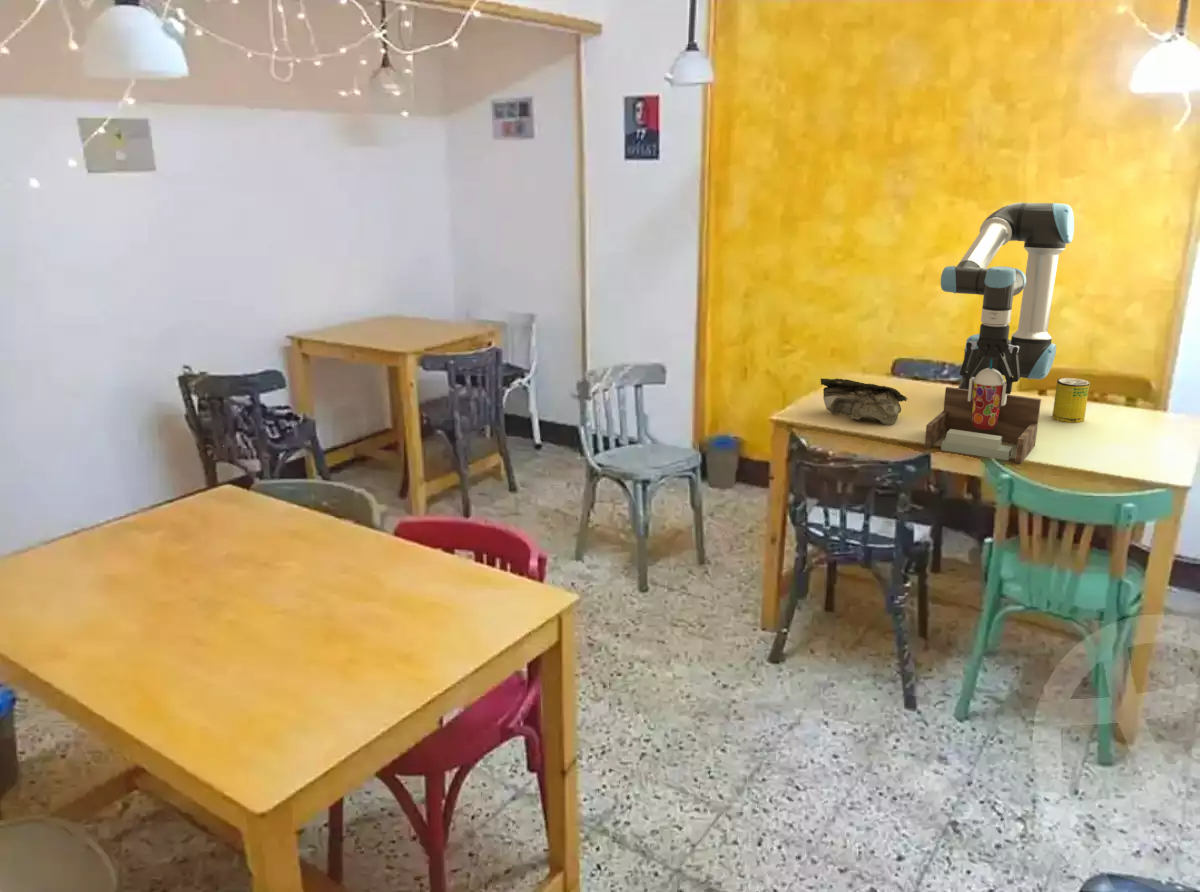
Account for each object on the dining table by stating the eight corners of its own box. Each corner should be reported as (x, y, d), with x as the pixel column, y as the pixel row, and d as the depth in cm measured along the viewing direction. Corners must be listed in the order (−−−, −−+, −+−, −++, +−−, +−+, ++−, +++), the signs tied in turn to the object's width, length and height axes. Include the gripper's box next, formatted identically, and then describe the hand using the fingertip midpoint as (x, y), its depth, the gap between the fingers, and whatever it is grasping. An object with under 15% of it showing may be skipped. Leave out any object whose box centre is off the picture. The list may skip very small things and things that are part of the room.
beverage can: (1088, 418, 292) (1093, 381, 288) (1078, 424, 286) (1084, 386, 282) (1057, 413, 298) (1062, 376, 294) (1048, 419, 292) (1053, 382, 288)
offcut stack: (945, 446, 270) (946, 428, 268) (1011, 456, 261) (1013, 437, 259) (940, 450, 267) (942, 432, 265) (1007, 461, 257) (1010, 442, 255)
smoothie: (994, 422, 272) (1002, 355, 265) (1003, 431, 264) (1011, 362, 257) (964, 422, 273) (971, 355, 266) (972, 431, 265) (980, 362, 258)
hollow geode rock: (817, 424, 308) (802, 399, 297) (831, 392, 312) (817, 366, 301) (899, 437, 290) (886, 411, 280) (912, 403, 294) (900, 376, 284)
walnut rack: (942, 431, 282) (947, 386, 278) (1035, 445, 268) (1041, 398, 263) (924, 447, 268) (928, 401, 264) (1020, 463, 254) (1027, 414, 250)
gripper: (952, 322, 261) (944, 400, 269) (1033, 330, 250) (1023, 411, 257) (959, 317, 267) (952, 394, 275) (1039, 324, 255) (1029, 404, 263)
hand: (986, 402), depth 266 cm, fingers closed on smoothie, 8 cm apart
